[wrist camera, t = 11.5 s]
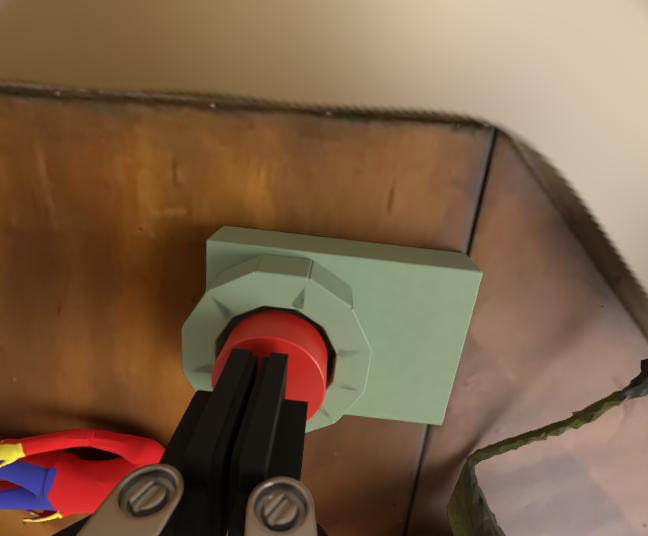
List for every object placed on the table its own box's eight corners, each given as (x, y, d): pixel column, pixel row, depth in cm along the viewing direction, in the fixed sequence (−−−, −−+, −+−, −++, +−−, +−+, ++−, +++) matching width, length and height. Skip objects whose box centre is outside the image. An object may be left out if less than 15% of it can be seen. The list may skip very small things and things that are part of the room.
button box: (215, 367, 18) (183, 430, 14) (216, 224, 16) (178, 254, 12) (430, 392, 18) (454, 461, 14) (465, 252, 16) (504, 292, 12)
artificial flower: (763, 289, 17) (1211, 552, 9) (421, 514, 26) (490, 743, 18) (675, 189, 13) (1294, 481, 5) (314, 491, 23) (341, 765, 15)
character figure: (-251, 501, 16) (239, 533, 15) (-143, 404, 19) (260, 426, 18) (-146, 547, 19) (254, 574, 18) (-71, 458, 23) (269, 479, 22)
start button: (225, 391, 14) (210, 425, 13) (226, 303, 13) (210, 329, 11) (322, 402, 14) (319, 438, 13) (333, 316, 13) (332, 343, 11)
